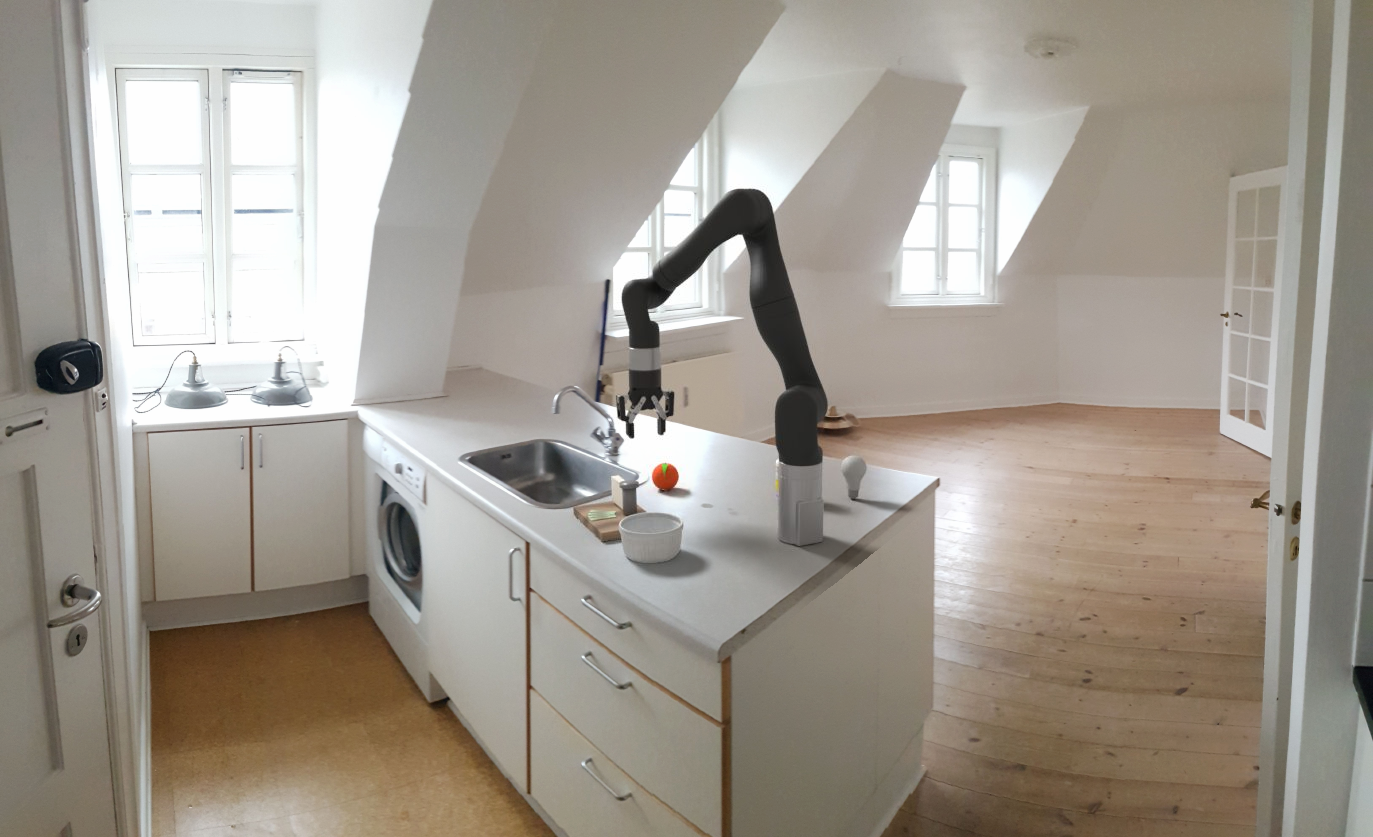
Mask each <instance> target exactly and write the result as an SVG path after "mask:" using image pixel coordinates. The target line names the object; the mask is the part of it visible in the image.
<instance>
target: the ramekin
mask: <svg viewBox="0 0 1373 837" xmlns="http://www.w3.org/2000/svg"><path fill="white" fill-rule="evenodd" d="M683 530H684V521H683V519H682V518H681V517H680V516H677V515H676V514H672V513H669V512H662V511H661V512H660V511H646V513H638V514H634V515H630V516H628V517H625V518H624V519H622V520H621V521H620V523H619V532H620V533H621V539H620V541H621V546H622V550H623V552H624V555H625V556H626V557H627V558H628V559H629V560H631V561H633V560H634V561H633V562H636V561H637V562H636V563H641V564H657V563H658V562H660V563H664V561H665V562H668V561H670V560H672V559H674V558H675V557H677V555H678V554H679V552H680V549H681V546H682V545H681V544H682V538H683V536H682V535H683Z"/></svg>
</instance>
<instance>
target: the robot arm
mask: <svg viewBox="0 0 1373 837" xmlns="http://www.w3.org/2000/svg"><path fill="white" fill-rule="evenodd" d="M774 213H775V212H774V209H773V205H772V202H771V201H770V198H769V197H768V196H767V194H765V192H763V191H762V190H760V189H756V188H734V189H731V190H729V191H727V192H726V193H725V194H724V195H723V196H722V197H721V198H719V200H718V201H717V202H716V204H715V205H714V206H713V207H712V208H711V210H710V211H709V212H708V213H707V215H706V216H705V217H704V218H703V219H702V221H700V222H699V224H697V226H696V227H695V228H694V229H693V230H692V231H691V233H689V234H688V235H687V236H686V237H685V238H683V240H682V241H681V242H679V243H678V244H677V245H676V246H674V248H673V249H671V250H670V251H669V252H668V253H666V254H665V255H664V256H663V257H662V258H660V259H659V260H658V261H657V262H656V263H655V264H654V266H653V268H652V274H651V275H649V276H648V277H647V278H638V279H631V280H628V282H626V283H625V284H624V285H623V286H624V287H623V288H622V290H621V291H622V292H621V305H622V309H623V313H624V317H625V320H626V325H627V328H628V346H629V347H628V356H627V357H628V360H627V361H628V362H627V367H628V387H629V389H628V392H627V393H626V394H625V393H624V394H619V393H617V394H616V395H615V403H616V414H617V417H616V418H617V419H618V420H620V421H621V422H624V423H625V434H626V436H628V438H629V439H634V438H635V423H634V421H635V420H636V417H637V416H638V415H639V413H640V412H641V411H645V410H650V411H651V410H653V411H654V412H655V414H656V416H657V417H658V418H656V421H657V422H656V424H657V425H656V428H657V435H658V436H664V435H665V433H666V431H667V430H666V428H667V423H666V420H667V419H668V418H669V417H673V416H674V414H675V410H674V409H675V392H674V391H673V390H671V389H666V390H663V389H662V355H661V354H662V352H661V346H660V345H661V344H660V343H661V342H660V340H661V339H660V326H659V323H657V322H656V321H655V320H651V316H650V313H649V310H654V309H656V308H659V307H660V306H662V305H663V304H664V303H666V301H667V300H668V299H669V298H670V297H671V295H673V293H674V292H675V291H676V289H677V288H678V287H679V286H681V285H682V284H683V283H684V282H686V281H687V280H688V279H690V278H691V277H692V276H693V275H695V273H697V271H699V269H700V268H701V267H702V266H703V265H704V264H705V262H706V260H707V259H708V258H709V256H710V255H711V253H712V252H713V251H714V250H716V249H717V248H719V246H721V245H722V244H724V243H725V242H727V241H729V240H730V239H733V238H735V237H736V236H742V237H743V240H744V244H745V246H746V249H747V253H748V257H749V261H750V264H749V265H750V275H749V276H750V277H749V290H748V291H749V294H748V295H749V304H750V307H751V311H752V314H753V315H752V316H753V318H754V321H755V325H756V328H757V331H758V333H759V335H760V338H762V340H763V342H764V344H765V345H766V347H767V348H768V349H769V351H770V353H771V355H773V357H774V358H775V361H777V362H776V363H777V364H778V366H779V369H780V372H781V375H782V379H783V383H784V387H785V388H784V389H785V391H783V392H782V393H781V394H780V395H779V396H778V397H777V399H776V403H775V406H774V434H775V435H774V436H775V438H774V439H775V448H776V450H777V453H778V458H779V480H778V500H777V501H778V502H777V503H778V504H777V505H778V506H777V537H778V539H779V541H782V542H783V543H786V544H791V545H796V547H797V546H798V547H801V546H807V545H812V544H817V543H818V544H819V543H822V542H824V511H825V510H824V507H825V500H824V498H823V463H824V462H823V459H824V458H823V457H824V456H823V455H824V454H823V452H824V451H823V448H822V447H821V446H820V445H819V442H818V441H819V440H818V424H819V423H821V422H822V421H823V420H824V418H825V417H826V416H827V413H828V407H829V403H828V402H829V401H828V398H827V394H826V391H825V389H824V386H823V383H822V381H821V379H820V377H819V374H818V372H817V369H816V366H815V365H814V362H813V359H812V356H811V355H812V354H811V353H810V352H811V351H810V349H809V348H810V347H809V344H808V341H807V337H806V334H805V329H804V326H803V323H802V319H801V315H800V311H799V308H798V307H799V306H798V304H797V300H796V297H795V294H794V290H793V288H792V285H791V281H790V278H789V273H788V271H787V267H786V263H785V261H784V258H783V253H782V250H781V246H780V241H779V235H778V230H777V225H776V218H775V214H774ZM662 398H663V400H664V401H665V403H664V404H665V405H664V409H663V406H662V405H661V403H660V401H661V399H662ZM628 400H629V402H630V403H631V404H630V405H629V408H628V410H627V413H626V404H627V403H628Z"/></svg>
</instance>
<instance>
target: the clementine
mask: <svg viewBox="0 0 1373 837" xmlns="http://www.w3.org/2000/svg"><path fill="white" fill-rule="evenodd" d="M679 477H680V476H679V472H678V469H677V468H676V467H675V465H673V464H671V463H667V462H663V463H659V464H658V465H656V466H655V468H654V469H653V470H652V472H651V481H652V483H653V485H654V486H655V487H656V488H657V489H659V490H662V491H669V490H672V489H673V488H675V487H676V486H677V484H678V482H679Z"/></svg>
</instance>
